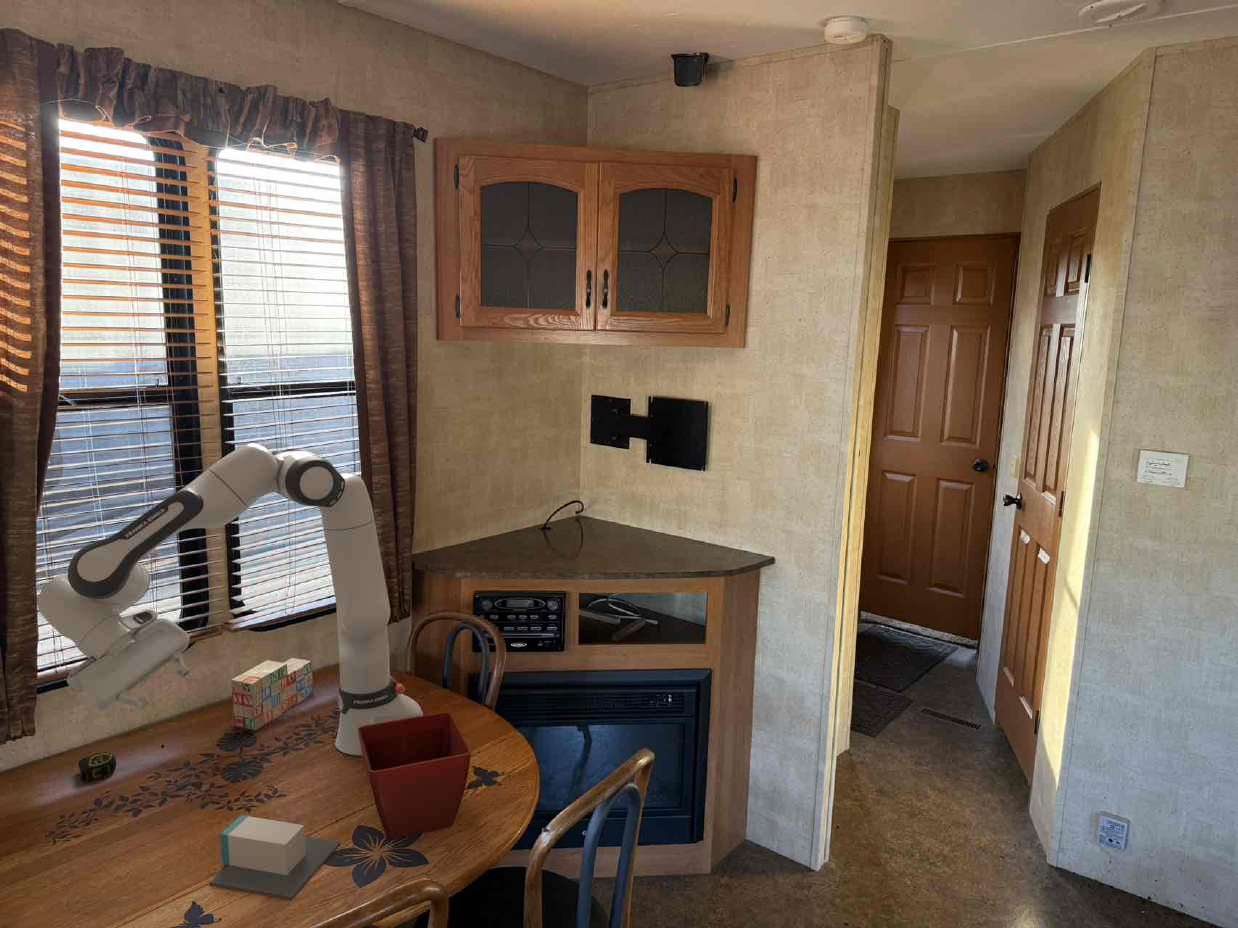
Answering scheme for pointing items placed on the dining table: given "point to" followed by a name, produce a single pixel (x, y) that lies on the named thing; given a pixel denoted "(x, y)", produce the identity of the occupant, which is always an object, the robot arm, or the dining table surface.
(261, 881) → the mat
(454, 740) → the plant pot
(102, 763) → the tape measure
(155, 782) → the dining table surface
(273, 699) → the stack of blocks
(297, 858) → the cream block
